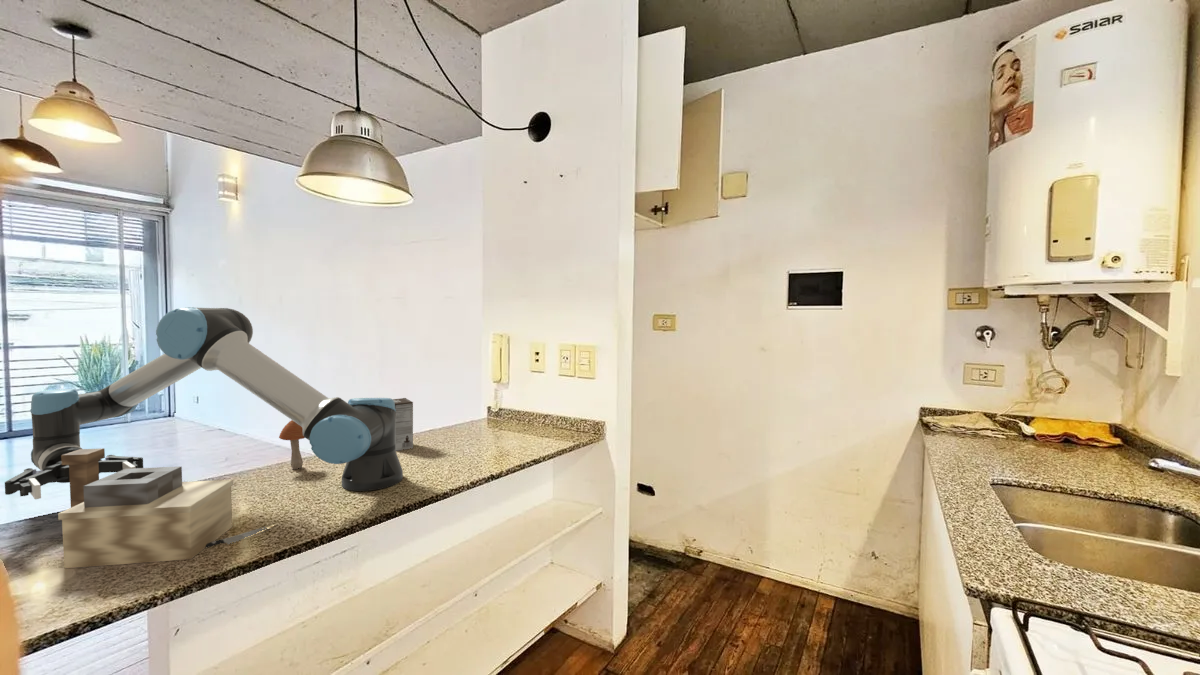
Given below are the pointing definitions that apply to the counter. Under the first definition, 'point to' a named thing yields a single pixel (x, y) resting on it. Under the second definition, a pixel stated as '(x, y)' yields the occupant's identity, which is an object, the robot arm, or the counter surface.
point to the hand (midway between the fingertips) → (88, 482)
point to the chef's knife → (235, 537)
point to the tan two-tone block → (145, 518)
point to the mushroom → (293, 442)
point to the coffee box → (403, 424)
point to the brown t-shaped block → (82, 471)
